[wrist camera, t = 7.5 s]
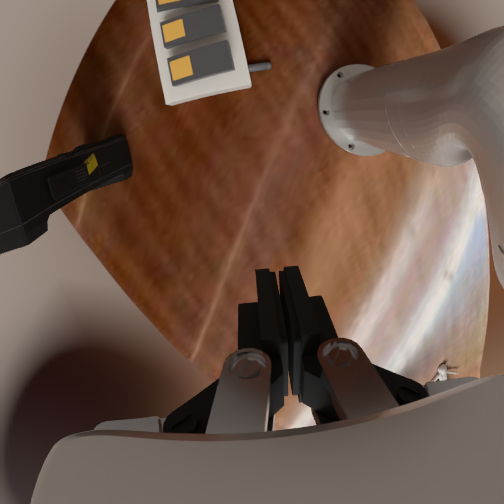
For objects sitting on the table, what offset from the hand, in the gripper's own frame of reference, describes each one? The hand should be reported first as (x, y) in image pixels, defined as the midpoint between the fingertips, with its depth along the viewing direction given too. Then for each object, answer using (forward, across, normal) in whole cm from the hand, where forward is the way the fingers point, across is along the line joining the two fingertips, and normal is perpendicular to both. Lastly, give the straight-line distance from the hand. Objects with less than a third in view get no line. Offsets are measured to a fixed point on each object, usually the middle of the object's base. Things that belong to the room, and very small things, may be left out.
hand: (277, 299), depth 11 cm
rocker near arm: (+24, +4, -14) cm, 28 cm away
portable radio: (+27, +19, -5) cm, 33 cm away
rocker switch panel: (+27, +4, -19) cm, 34 cm away
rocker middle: (+24, +5, -19) cm, 31 cm away
